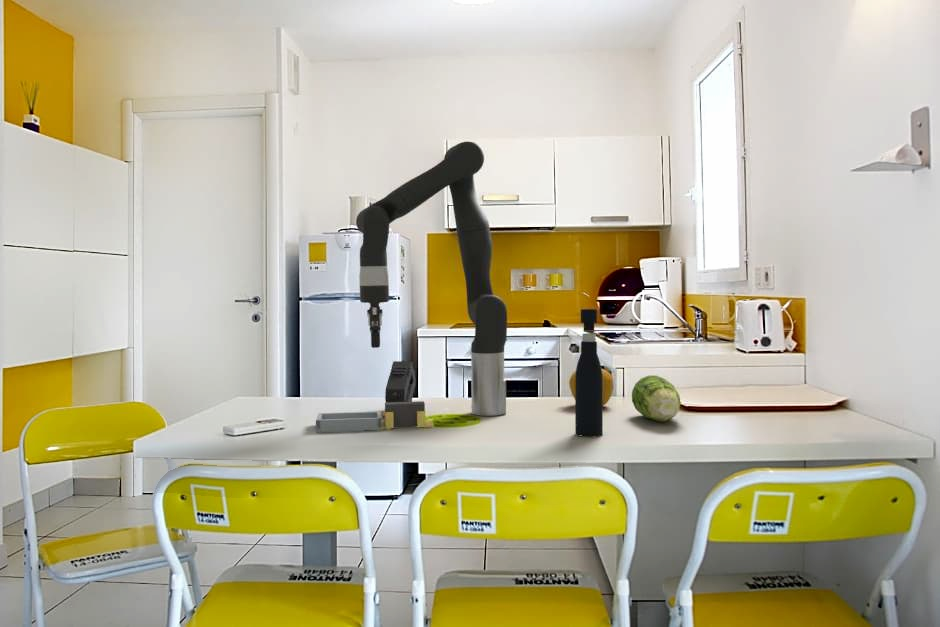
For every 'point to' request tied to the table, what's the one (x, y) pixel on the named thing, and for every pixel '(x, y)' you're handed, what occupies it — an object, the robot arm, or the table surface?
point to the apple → (606, 385)
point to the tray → (348, 421)
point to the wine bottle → (588, 382)
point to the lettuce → (656, 398)
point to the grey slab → (404, 412)
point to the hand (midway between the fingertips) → (375, 346)
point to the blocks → (420, 420)
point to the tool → (400, 382)
